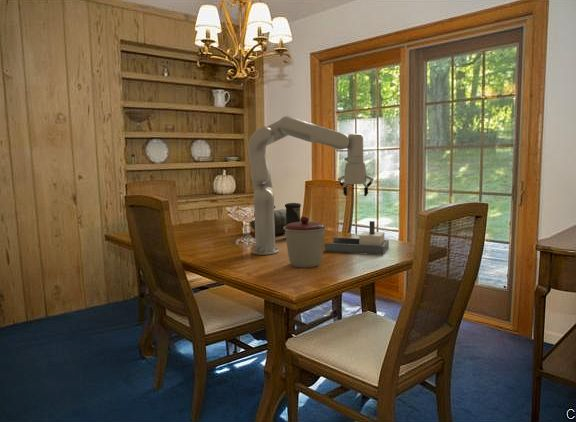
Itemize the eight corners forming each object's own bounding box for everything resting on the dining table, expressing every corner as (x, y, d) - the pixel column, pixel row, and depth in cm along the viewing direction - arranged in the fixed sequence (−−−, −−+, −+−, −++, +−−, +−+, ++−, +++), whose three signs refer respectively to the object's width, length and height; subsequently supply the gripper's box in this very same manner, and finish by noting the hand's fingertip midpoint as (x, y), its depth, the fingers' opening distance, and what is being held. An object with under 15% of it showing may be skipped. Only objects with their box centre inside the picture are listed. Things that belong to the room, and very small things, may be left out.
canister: (275, 265, 190) (274, 216, 187) (304, 258, 203) (303, 212, 200) (306, 273, 177) (305, 220, 175) (335, 264, 190) (335, 215, 187)
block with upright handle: (380, 251, 208) (380, 223, 207) (359, 249, 212) (359, 222, 210) (384, 246, 218) (384, 220, 217) (364, 245, 222) (364, 219, 220)
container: (301, 239, 247) (301, 203, 245) (285, 239, 247) (284, 203, 245) (301, 236, 256) (300, 201, 253) (285, 236, 256) (285, 202, 253)
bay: (383, 255, 205) (383, 246, 205) (324, 251, 216) (324, 243, 215) (388, 248, 220) (388, 240, 220) (333, 244, 230) (333, 237, 230)
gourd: (289, 233, 251) (284, 203, 252) (247, 239, 257) (242, 210, 257) (297, 230, 276) (293, 202, 276) (259, 236, 281) (255, 209, 281)
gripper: (335, 160, 212) (336, 196, 215) (371, 159, 206) (372, 196, 208) (339, 160, 219) (340, 194, 222) (375, 159, 213) (375, 195, 215)
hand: (355, 195), depth 215 cm, fingers open, 9 cm apart
